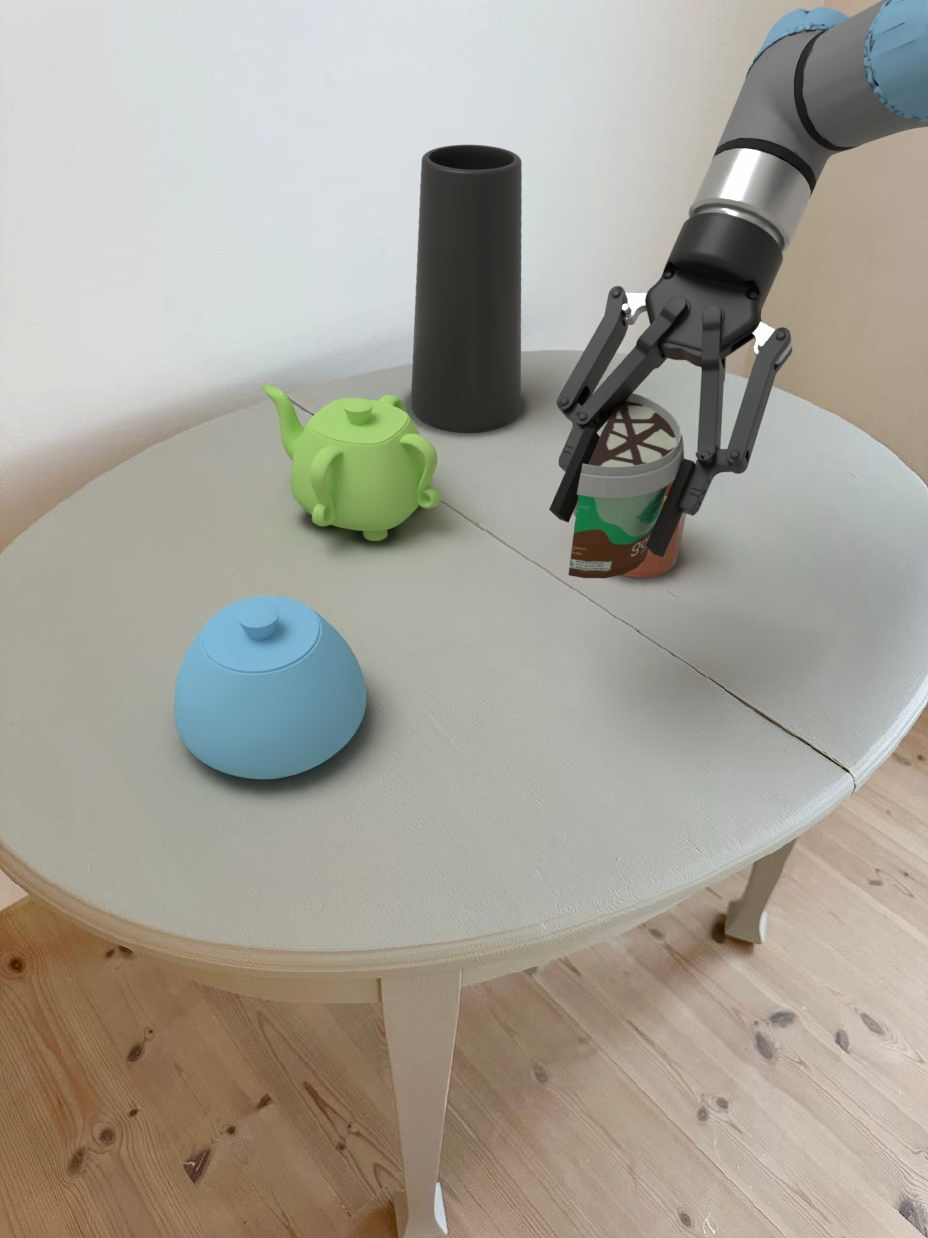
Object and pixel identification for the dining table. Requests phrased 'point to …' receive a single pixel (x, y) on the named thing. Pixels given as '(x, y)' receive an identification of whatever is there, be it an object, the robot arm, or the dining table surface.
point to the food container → (624, 488)
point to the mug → (655, 563)
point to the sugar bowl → (268, 690)
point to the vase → (468, 289)
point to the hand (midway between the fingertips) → (605, 533)
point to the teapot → (358, 463)
